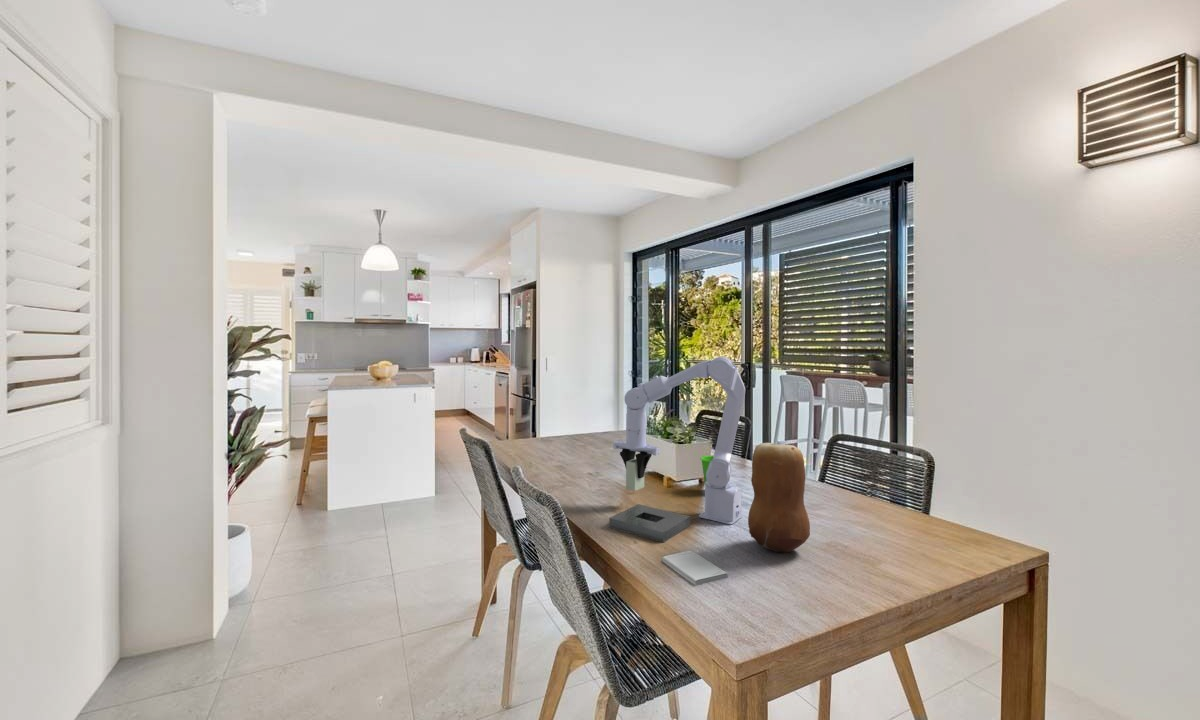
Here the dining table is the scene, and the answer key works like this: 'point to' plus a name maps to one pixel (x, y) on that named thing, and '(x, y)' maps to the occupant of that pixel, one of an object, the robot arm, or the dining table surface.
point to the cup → (706, 464)
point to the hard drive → (694, 567)
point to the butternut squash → (778, 498)
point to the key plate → (650, 522)
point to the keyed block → (633, 476)
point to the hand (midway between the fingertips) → (635, 476)
